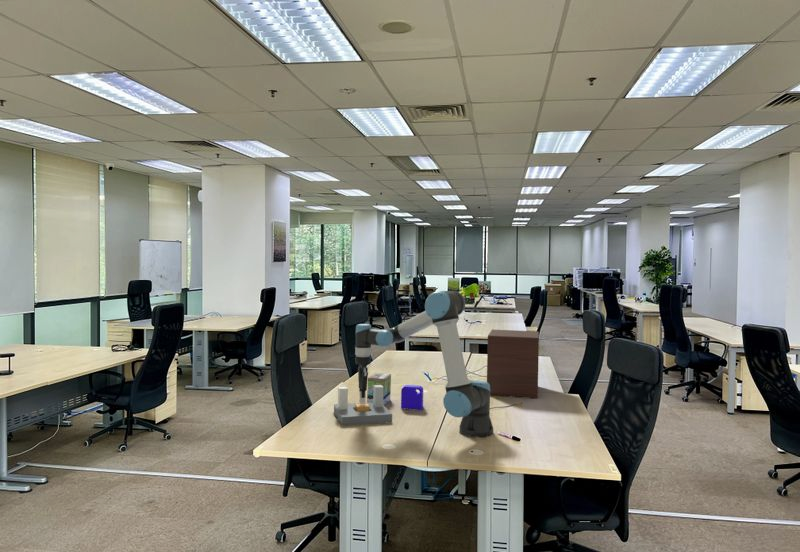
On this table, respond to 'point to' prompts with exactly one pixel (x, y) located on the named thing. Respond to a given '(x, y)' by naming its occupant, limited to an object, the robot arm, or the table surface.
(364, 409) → the button
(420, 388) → the bracket
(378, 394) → the light grey tall block
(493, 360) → the storage cube
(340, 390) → the block
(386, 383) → the tea box
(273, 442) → the table surface
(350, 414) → the panel
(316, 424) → the table surface
